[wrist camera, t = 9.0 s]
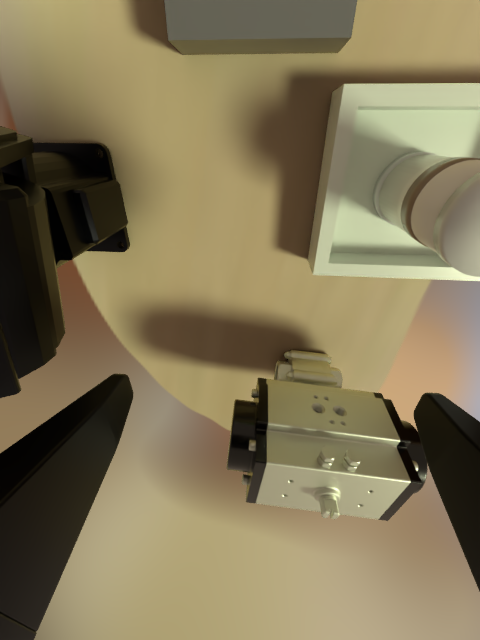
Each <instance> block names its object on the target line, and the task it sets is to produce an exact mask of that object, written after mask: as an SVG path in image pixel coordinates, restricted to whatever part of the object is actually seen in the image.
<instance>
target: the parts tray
mask: <svg viewBox="0 0 480 640" xmlns="http://www.w3.org/2000/svg"><path fill="white" fill-rule="evenodd" d="M411 152H429V153H434V154H437V155H439V156H446V157H469V158H480V83H410V84H343V85H342V86H340V87H339V88H337V89H336V90H334V91H333V92H332V98H331V105H330V111H329V118H328V125H327V132H326V139H325V145H324V152H323V159H322V166H321V173H320V180H319V186H318V193H317V200H316V207H315V214H314V221H313V227H312V234H311V241H310V248H309V255H308V262H309V265H310V268H311V271H312V273H313V275H328V276H355V277H383V278H411V279H439V280H467V281H480V277H475V276H469V275H466V274H463V273H461V272H459V271H458V270H456V269H455V268H453V267H452V266H450V265H449V264H447V263H446V262H445V261H443V260H442V259H441V258H440V256H439V255H438V254H437V253H436V252H435V251H433V250H432V249H430V248H429V247H426V246H424V245H422V244H421V243H419V242H418V241H416V240H415V239H413V238H412V237H410V236H409V235H408V234H407V233H406V232H405V231H403V230H402V229H400V228H399V227H397V226H395V225H392V224H390V223H388V222H387V221H385V220H384V219H382V218H381V217H380V216H379V215H378V214H377V212H376V211H375V209H374V206H373V199H372V198H373V189H374V186H375V183H376V181H377V179H378V177H379V175H380V174H381V173H382V171H383V170H384V169H385V168H386V167H387V166H388V165H389V164H390V163H391V162H392V161H394V160H395V159H396V158H398V157H400V156H402V155H404V154H407V153H411Z"/></svg>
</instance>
